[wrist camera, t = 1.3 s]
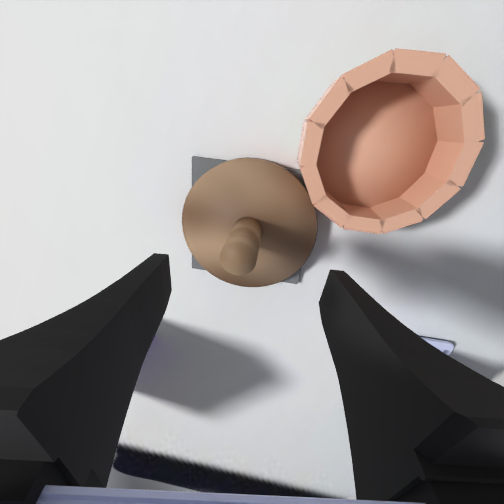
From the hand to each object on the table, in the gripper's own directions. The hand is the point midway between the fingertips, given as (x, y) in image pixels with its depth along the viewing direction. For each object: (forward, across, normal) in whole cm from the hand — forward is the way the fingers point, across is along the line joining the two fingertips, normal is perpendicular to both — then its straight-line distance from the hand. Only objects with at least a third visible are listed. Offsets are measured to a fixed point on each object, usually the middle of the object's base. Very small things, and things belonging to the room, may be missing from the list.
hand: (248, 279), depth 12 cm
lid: (+10, 0, +3) cm, 11 cm away
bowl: (+10, -8, -4) cm, 14 cm away
